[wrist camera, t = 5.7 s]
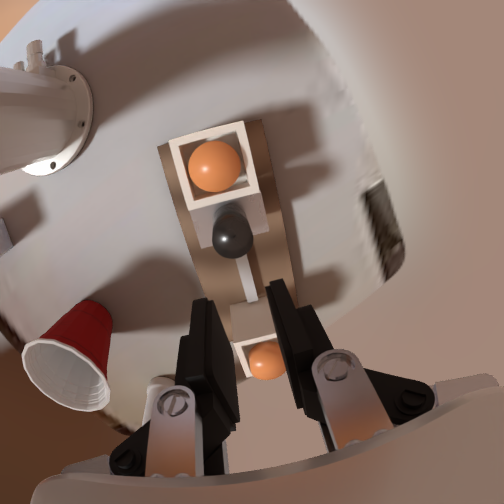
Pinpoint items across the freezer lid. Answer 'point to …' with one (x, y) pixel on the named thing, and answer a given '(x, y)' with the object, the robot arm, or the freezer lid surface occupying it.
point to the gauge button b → (266, 361)
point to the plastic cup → (73, 358)
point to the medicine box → (4, 238)
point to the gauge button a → (214, 166)
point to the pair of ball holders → (234, 134)
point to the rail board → (264, 244)
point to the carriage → (231, 225)
